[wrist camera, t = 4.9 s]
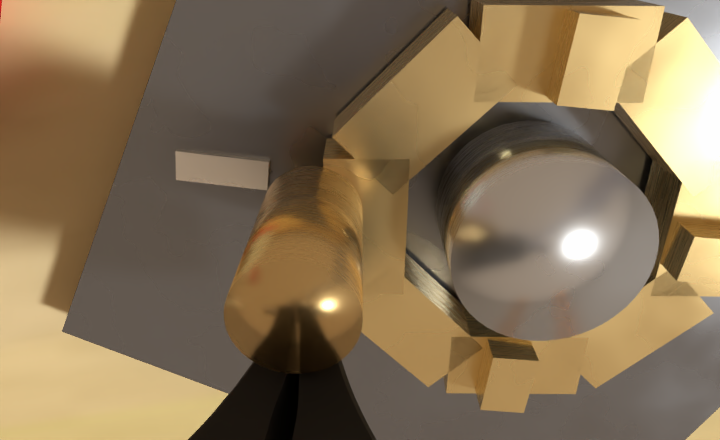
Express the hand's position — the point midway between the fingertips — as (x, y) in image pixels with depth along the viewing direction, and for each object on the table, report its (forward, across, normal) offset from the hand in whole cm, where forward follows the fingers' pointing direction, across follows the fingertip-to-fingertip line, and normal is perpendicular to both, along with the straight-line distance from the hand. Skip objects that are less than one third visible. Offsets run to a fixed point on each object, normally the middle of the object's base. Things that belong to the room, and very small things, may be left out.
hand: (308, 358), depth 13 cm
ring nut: (+3, -6, -2) cm, 7 cm away
